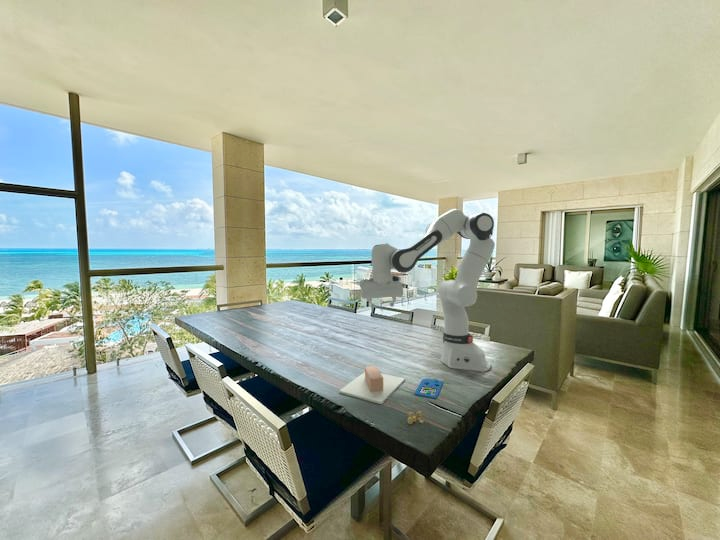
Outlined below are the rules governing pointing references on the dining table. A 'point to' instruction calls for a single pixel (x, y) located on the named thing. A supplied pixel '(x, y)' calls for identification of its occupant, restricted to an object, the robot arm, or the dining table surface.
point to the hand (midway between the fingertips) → (382, 307)
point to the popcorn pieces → (414, 417)
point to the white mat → (363, 392)
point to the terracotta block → (374, 378)
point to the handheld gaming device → (429, 388)
